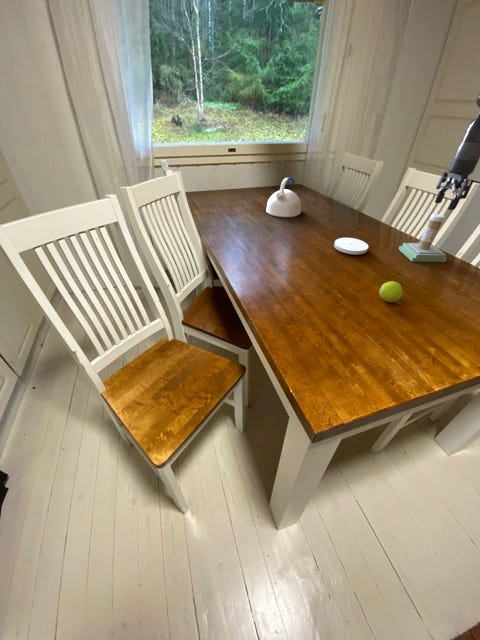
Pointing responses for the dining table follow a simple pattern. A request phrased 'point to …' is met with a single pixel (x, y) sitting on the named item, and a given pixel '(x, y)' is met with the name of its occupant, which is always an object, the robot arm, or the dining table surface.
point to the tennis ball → (391, 291)
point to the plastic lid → (351, 246)
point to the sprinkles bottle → (431, 231)
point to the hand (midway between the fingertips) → (443, 206)
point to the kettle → (284, 202)
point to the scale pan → (424, 251)
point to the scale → (416, 257)
